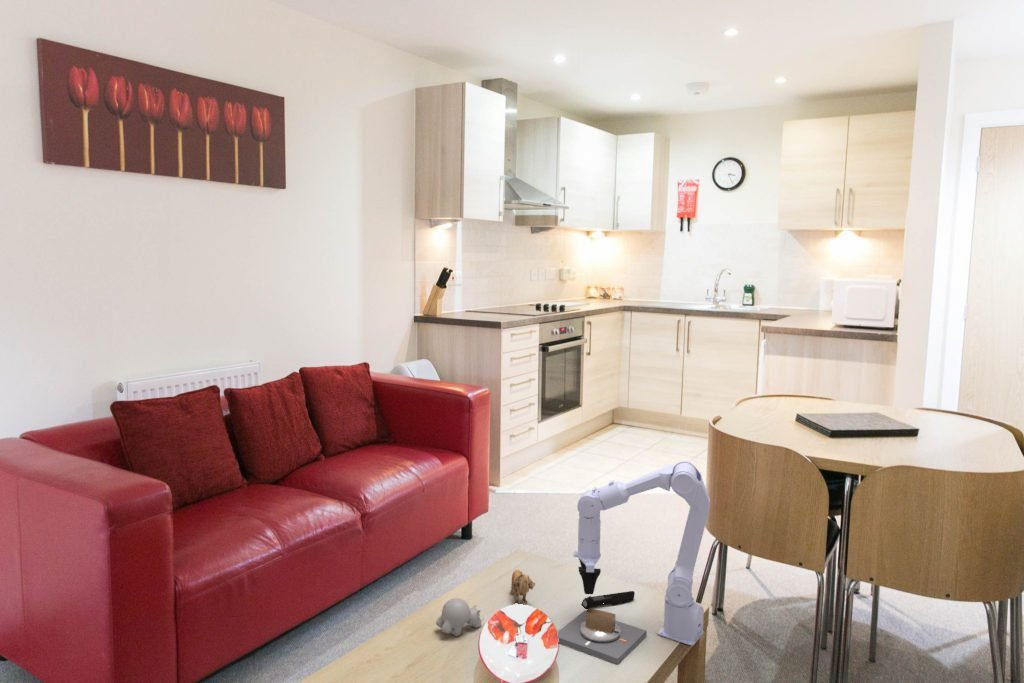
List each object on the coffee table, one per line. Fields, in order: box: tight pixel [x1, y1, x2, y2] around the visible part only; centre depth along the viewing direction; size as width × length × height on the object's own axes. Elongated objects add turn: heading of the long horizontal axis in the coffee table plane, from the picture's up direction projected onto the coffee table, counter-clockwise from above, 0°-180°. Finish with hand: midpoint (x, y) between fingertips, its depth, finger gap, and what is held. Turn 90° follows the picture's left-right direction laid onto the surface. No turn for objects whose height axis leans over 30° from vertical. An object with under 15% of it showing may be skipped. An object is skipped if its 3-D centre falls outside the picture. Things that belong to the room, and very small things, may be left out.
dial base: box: [557, 609, 648, 665], centre depth 183 cm, size 18×16×2 cm
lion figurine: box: [509, 569, 536, 604], centre depth 204 cm, size 15×5×9 cm, turn 18°
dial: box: [580, 608, 620, 642], centre depth 182 cm, size 10×10×5 cm
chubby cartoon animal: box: [435, 597, 485, 637], centre depth 186 cm, size 7×12×8 cm, turn 114°
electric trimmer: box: [581, 590, 635, 610], centre depth 201 cm, size 4×16×3 cm, turn 108°
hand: (588, 586), depth 191 cm, fingers open, 7 cm apart
